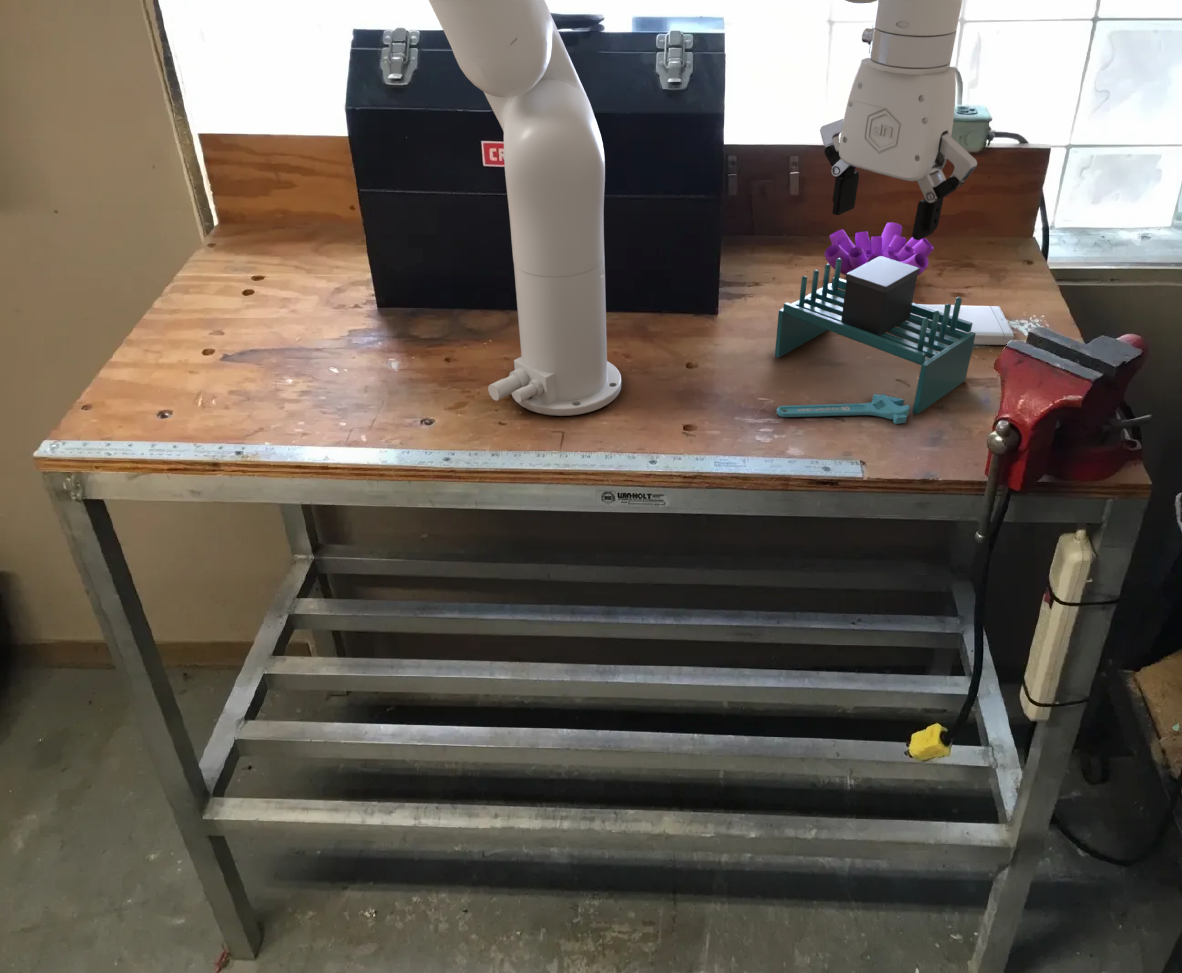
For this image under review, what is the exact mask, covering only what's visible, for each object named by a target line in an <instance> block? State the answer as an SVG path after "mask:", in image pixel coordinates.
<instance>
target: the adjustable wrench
mask: <svg viewBox="0 0 1182 973" xmlns="http://www.w3.org/2000/svg"><path fill="white" fill-rule="evenodd" d="M904 404H905V399H904V398H903V399H902V398H899V397H895V396H889V395H886V394H885V393H882V394H878V393H874V394H873V395H872V400H871V401H870V402H865V403H833V404H831V403H829V404H827V403H826V404H794V405H793V404H791V405H789V404H788V405H780V406H778V407H777V408H776V415H777V416H779V417H782V418H800V417H801V418H803V417H804V418H806V417H809V418H810V417H841V416H872V417H878V418H884V419H887V420H892V422H893V423H894V424H895V425H899V424H904V423H905V424H906V423H907V417H908V416H909V413H910V409H911V408H910V404H905V405H904Z"/></svg>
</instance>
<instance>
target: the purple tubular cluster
mask: <svg viewBox="0 0 1182 973" xmlns="http://www.w3.org/2000/svg"><path fill="white" fill-rule="evenodd" d="M902 231H903V226H902V225H901V224H899V223H897V222H886V224H885V226H884V228H883V231H882V233H881V236H879V235H873V236H871V239H870V236H869V232H868V231H867V230H866V231H865V230H864V231H859V232H855V235H854V240H855V241H854V242H855V244H854V242H853V241H852V240H851V239H850V237H849V236H848V234H847V233H846V231H845V229H839V230H836V231H835V232H833V233H831V234H829V240H830V242H831V245H829V246H828V247H827V248H826V249H825V251H824V258H825V260H826V261H827V264H829V265H830V267H831V268H833V270H835V267H836V260H837V259H838V258H840V259H841V260H842V262H841V270H840V274H842V275H845V276H846V274H847V273H849V272H851V271H853V270H854V269H856V268H858V267H860V266H862V265H864V264H866V263H868V262H870V261H871V260H873V259H875V258H877V257H879V256H883V257H886V258H889V259H892V260H895V261H899V262H902V263H905V264H908V265H911V266H915V267H918V268H920V270H919V274H917V277H918V276H920V275H921V274H922V273H924V271H926V269H927V268H928V267H929V258H928V257H929V256H930V255H931V254H932V252H933V251H934V245H933V244H931V242H930V241H929V240H928V239H927V238H926V237H924V238H922V239H920V240H916V239H913V237H912V236H911V238H910V239H908V241H907V238H906V237H904V236H902ZM906 241H907V242H906Z"/></svg>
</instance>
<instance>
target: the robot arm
mask: <svg viewBox="0 0 1182 973" xmlns="http://www.w3.org/2000/svg"><path fill="white" fill-rule="evenodd" d="M841 1H842V2H844V3H848V4H851V5H866V4H872V3H875V2H876V10H875V16H874V24H873V25H872V27H871V28H869V27H866V28H865V29H864V30H863V32H862V35H861V42H862V43H863V44H867V45H868V46H869V49H868V54H869V57H865V58H863V59H861V60H860V62H859V65H858V67H857V71H856V73H855V76H854V79H853V82H852V85H851V89H850V92H849V95H848V99H847V103H846V107H845V113H844V117H843V118H841V119H839V120H836V121H833V122H830V123H827V124H824V125H822V126H821V127H820V129H819V132H820V137H821V141H822V145H823V147H824V150H823V151H824V155H825V157H826V159H827V161H828V162H829V164H830V166H831V169H830V171H831V174H832V176H833V177H835V179H834V187H833V194H832V204H833V205H832V215H834V216H840V215H842V214H844V213H847V212H850V211H852V210H853V209H854V208H855V207H856V200H857V192H858V186H859V179H860V174H859V172H860V171H857V170H856V169H857V168H858V169H862V170H865V171H868V172H872V173H875V174H879V175H884V176H886V177H890V178H893V179H894V178H895V179H899V180H901V181H907V182H916V183H917V184H918V186H919V189H920V191H921V193H922V195H923V197H924V198H923V199H921V200H920V201H918V203H917V208H916V212H915V218H914V223H913V229H912V234H911V238H912V237H913V239H916V240H920V239H922V238H926V237H928V236H930V235H932V234H933V233H934V232H935V231H936V230H937V228H938V227H939V223H940V218H941V213H942V212H941V211H942V208H943V203H944V198H946V197H948V196H949V195H950V194H952V193H953V192H955V191H956V190H958V189H959V188H960V187H963V185H964V184H965V181H966V180H968V179H969V177H970V176H971V175H972V173H973V172H974V171H975V169H977V166H978V161H977V159H976V158H975V157H974V156H973V155H972V154H970V152H968V151H967V150H966V149H965V148H964V147H963V146H962V145H961V144H960V143H958V142H957V141H956V139H954V138H953V137H952V133H953V128H954V120H955V119H954V118H955V108H956V92H957V91H956V87H957V86H956V85H957V83H956V82H957V81H956V80H957V79H956V67H952V66H951V63H952V57H953V52H954V48H955V42H956V37H957V30H958V25H959V20H960V14H961V9H962V4H963V0H841ZM428 2H429V4H430V6H431V8H432V10H433V13H434V14H435V16H436V19H437V20H438V22H439V24H440V26H441V28H442V31H443V32H444V35H445V37H446V39H447V41H448V43H449V46H450V48H451V50H452V53H453V55H454V56H453V57H454V59H455V61H456V63H457V64H458V66H459V69H460V70H461V71H462V73H463V74H464V75H465V77H466V78H467V79H468V80H469V82H471V84H473V86H475V87H476V88H477V89H479V90H480V91H482V92H483V94H484V96H485V97H486V100H487V102H488V103H489V106H490V108H491V110H492V111H493V114H494V115H495V117H496V120H497V121H498V123H499V125H500V127H501V130H502V132H503V158H504V159H503V164H504V176H505V186H506V195H507V196H506V197H507V204H508V214H509V227H510V238H511V249H512V250H511V251H512V261H513V262H512V263H513V270H514V281H515V282H514V283H515V295H516V308H517V320H518V331H519V344H520V354H521V355H520V357H517V358H516V359H514V360H513V366H514V370H512V371H510V372H509V374H508V376H507V377H504V378H501V379H499V380H497V381H495V382H493V383H490V384H489V385H488V386H487V390H488V393H489V396H490V397H491V399H492V400H494V401H496V402H498V401H500V400H502V399H504V398H506V397H509V396H510V395H511V397H512V398H513V400H514V402H516V403H517V404H518V405H520V406H521V407H523V408H524V409H526V410H528V411H531V412H534V413H537V414H540V415H541V414H542V415H547V416H555V417H556V416H558V417H566V416H567V417H568V416H569V417H570V416H571V417H572V416H577V415H584V414H588V413H592V412H594V411H597V410H600V409H602V408H603V407H605V406H608V405H609V404H610V403H612V402H614V400H615V399H616V398H617V397H618V396H619V394H620V393H621V390H622V375H621V372H620V370H619V369H618V368H617V367H616V366H615V365H614V364H613V363H612V362H609V361H608V349H607V347H608V344H607V343H608V342H607V341H608V340H607V307H606V306H607V303H606V302H607V301H606V265H605V264H606V263H605V262H606V261H605V259H606V258H605V234H604V233H605V229H604V228H605V225H604V224H605V222H604V221H605V220H604V219H605V216H604V215H605V214H604V213H605V212H604V210H605V208H604V207H605V188H606V187H605V183H606V162H605V161H606V159H605V150H604V143H603V140H602V135H601V132H600V128H599V125H598V122H597V119H596V117H595V113H594V111H593V108H592V105H591V101H590V99H589V97H588V96H587V93H586V91H585V89H584V86H583V84H582V82H581V80H580V78H579V74H578V73H577V71H576V68H575V66H574V64H573V62H572V59H571V57H570V55H569V52H568V50H567V49H566V45H565V43H564V40H563V39H562V37H561V34H560V32H559V30H558V27H557V25H556V23H555V21H554V18H553V16H552V14H551V12H550V9H549V7H548V5H547V3H546V1H545V0H428ZM947 160H948V161H949V162H950V163H951V164H952V165H953V167H954V168H953V171H952V172H951V175H949V177H948V178H946V176H945V173H944V172H943V169H944V168H945V166H946V163H947Z"/></svg>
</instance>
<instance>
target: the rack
mask: <svg viewBox="0 0 1182 973" xmlns="http://www.w3.org/2000/svg"><path fill="white" fill-rule="evenodd" d="M841 262H842V260H841V259H840V258H838V259H837V260H836V267H835V269H834V277H832V279H831V283H830V274H831V265H830V264H829V263H826V264H825V265H824V272H823V279H822V280H823V282H822V287H820V288H818V284H819V276H820V271H819V270H818V269H814V270H813V273H812V274H813V275H812V282H811V292H810V293H809V294H807V285H808V284H807V282H808V276H806V275H802V276H801V280H800V281H801V282H800V291H799V299H798V300H796V301H793V302H792V303H790V302H787V301H786V302H784V303H783V307H782V308H781V309H780V308H779V310H778V315H777V326H776V336H775V337H776V339H775V350H774V357H776V358H778V359H779V358H781V357H782V356H784V355H787V354H788V353H790V352H792V351H794V350H795V349H797V348H799V347H800V346H802V345H804V344H806V343H807V342H809V341H811V340H813V339H815V338H816V337H818V336H820V335H821V334H823V333H825V332H826V331H829V332H832V333H834V334H837V335H840V336H842V337H845V338H847V339H850V340H853V341H854V342H858V343H861V344H863V345H866V346H869V347H871V348H874V349H877V350H880V351H882V352H884V353H887V354H890V355H892V356H895V357H898V358H899V359H900V358H901V359H903V360H906V361H908V362H911V363H914V364H916V365H919V366H920V371H919V376H918V382H917V387H916V392H915V397H914V403H913V407H912V414H913V415H917V416H918V415H919V414H920V413H922V412H923V411H925V410H926V409H928V408H929V407H930V406H932V405H933V404H935V403H936V402H937V401H939V400H940V399H942V398H943V397H944V396H946V395H947V394H950V392H951V391H953V390H954V389H956V388H958V387H959V386H960V385H962V384H963V383H964V382H965V381H966V380H967V374H968V370H969V366H970V361H971V357H972V352H973V347H974V344H973V343H974V339H975V334H976V333H974V332H970V331H971V328H972V323H971V322H968V321H965V320H962V319H959V318H958V316H959V311H960V306H961V305H962V302H963V298H962V297H961V296H957V297H956V298H955V302H954V305H955V306H954V311H953V316H951V315H949V314H950V309H951V305H952V304H951V303H946V304H944V305H945V308H944V313H942V312H939V311H938V310H933V309H930V308H927V307H924V306H921V305H918V304H919V303H915V302H913V303H912V309H911V313H912V314H910V318H909V319H907V320H906V321H904V322H902V323H901V324H899V325H897V326H896V327H894V328H893V329H891V330H889V331H888V332H886V333H884V334H883V335H881V336H877V335H874V334H872V333H869V332H866V331H864V330H861V329H858V328H855V327H853V326H850V325H847V324H845V323H842V322H841V319H842V311H843V304H844V296H845V288H846V281H847V280H846V279H843V278H840V276H841V273H840V270H841ZM806 294H807V295H806ZM913 314H915V315H913ZM916 315H918V316H916ZM919 316H921V317H919ZM922 317H924V318H922ZM928 319H930V320H932V321H930V320H928ZM907 321H908V322H907ZM910 322H911V323H910ZM913 323H914V324H913ZM939 323H941V324H939ZM916 324H917V325H916ZM918 325H920V326H918ZM948 326H950V327H948ZM900 328H902V329H900ZM927 328H928V329H927ZM903 329H905V330H903ZM930 329H931V330H930ZM957 329H959V330H962V331H965V332H968V333H965V332H962V331H959V330H957ZM906 330H907V331H906ZM909 331H910V332H909ZM936 331H937V332H936ZM912 332H913V333H912ZM938 332H939V333H938ZM914 333H916V334H914ZM917 334H919V335H917ZM947 335H948V336H947ZM950 336H951V337H950ZM926 337H927V338H926ZM953 337H954V338H953ZM928 338H929V339H928ZM956 338H957V339H956ZM904 339H906V340H904ZM958 339H959V340H958ZM907 340H909V341H907ZM910 341H911V342H910ZM937 341H938V342H937ZM913 342H914V343H913ZM940 342H941V343H940ZM942 343H944V344H942Z"/></svg>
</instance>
